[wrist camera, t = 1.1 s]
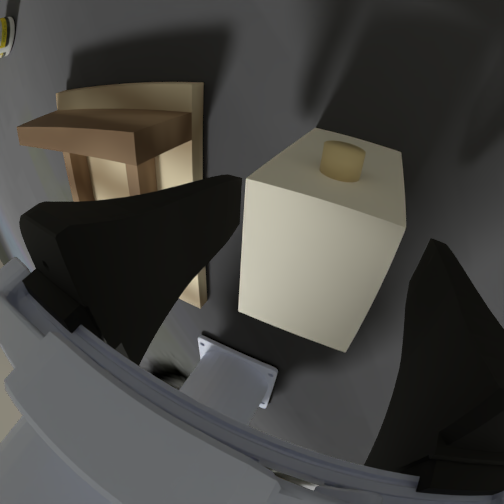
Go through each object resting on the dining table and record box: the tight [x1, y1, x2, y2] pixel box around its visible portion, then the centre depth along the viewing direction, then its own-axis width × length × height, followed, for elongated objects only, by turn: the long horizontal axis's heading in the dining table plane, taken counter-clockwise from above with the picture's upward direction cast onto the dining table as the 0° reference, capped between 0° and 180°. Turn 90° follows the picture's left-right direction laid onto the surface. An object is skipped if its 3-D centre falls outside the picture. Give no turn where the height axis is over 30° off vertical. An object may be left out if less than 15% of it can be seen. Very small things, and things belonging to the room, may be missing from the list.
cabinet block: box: [238, 128, 406, 353], centre depth 10 cm, size 6×4×7 cm
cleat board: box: [17, 82, 207, 309], centre depth 18 cm, size 16×14×5 cm
